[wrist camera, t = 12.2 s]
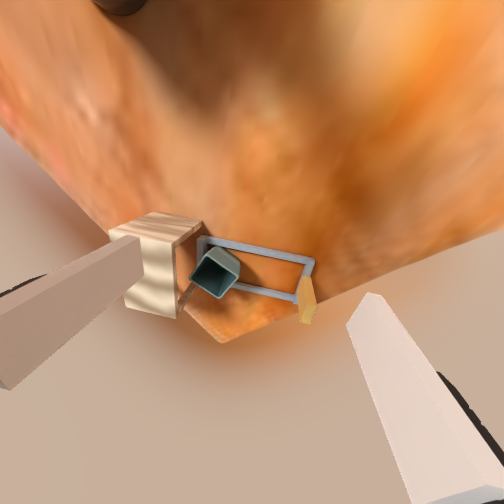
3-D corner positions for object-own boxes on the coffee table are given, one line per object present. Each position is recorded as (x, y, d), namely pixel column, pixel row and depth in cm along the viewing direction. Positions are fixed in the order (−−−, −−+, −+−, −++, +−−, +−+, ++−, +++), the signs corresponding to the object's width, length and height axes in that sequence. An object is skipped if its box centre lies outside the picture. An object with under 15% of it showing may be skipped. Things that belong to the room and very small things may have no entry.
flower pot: (202, 260, 49) (187, 279, 41) (218, 236, 45) (205, 253, 37) (229, 278, 51) (219, 300, 43) (247, 257, 47) (239, 276, 39)
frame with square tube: (202, 234, 45) (177, 257, 35) (314, 258, 44) (325, 289, 33) (200, 277, 52) (179, 308, 41) (299, 300, 50) (303, 337, 39)
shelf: (155, 211, 45) (108, 230, 33) (202, 220, 44) (171, 243, 32) (161, 273, 54) (126, 306, 42) (200, 282, 53) (175, 319, 41)
